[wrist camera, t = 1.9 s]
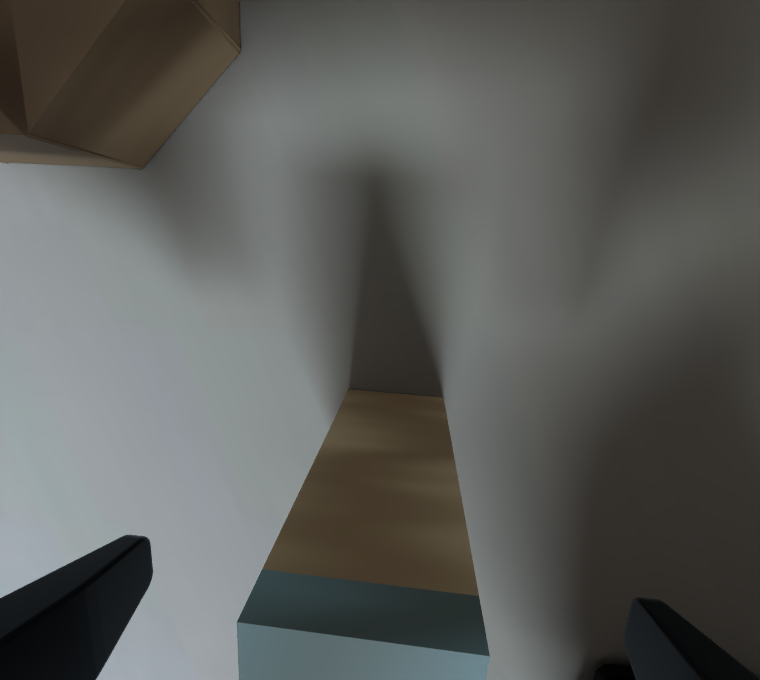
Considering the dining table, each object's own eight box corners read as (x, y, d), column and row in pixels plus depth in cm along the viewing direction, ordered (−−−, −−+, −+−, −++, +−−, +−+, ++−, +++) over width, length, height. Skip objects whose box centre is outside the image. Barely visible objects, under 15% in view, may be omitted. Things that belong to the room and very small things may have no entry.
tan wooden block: (443, 397, 12) (489, 656, 4) (434, 482, 13) (462, 832, 5) (348, 389, 12) (236, 621, 5) (345, 472, 13) (242, 796, 5)
